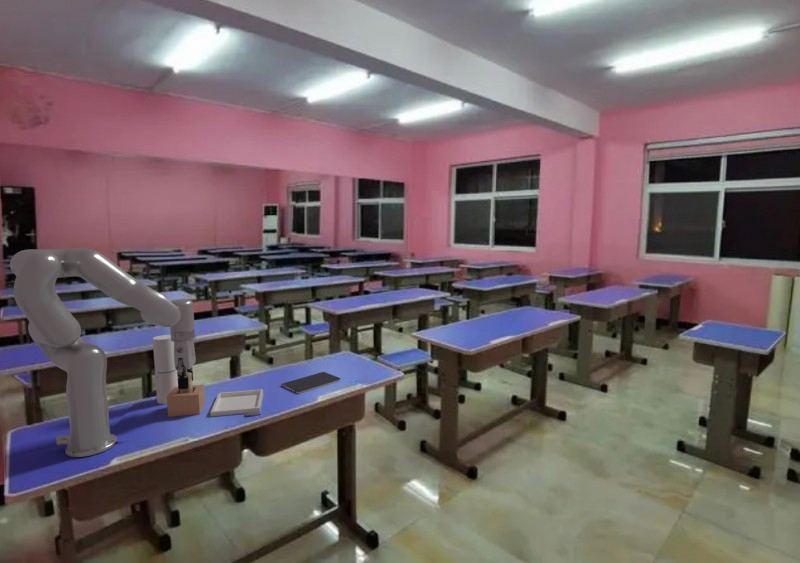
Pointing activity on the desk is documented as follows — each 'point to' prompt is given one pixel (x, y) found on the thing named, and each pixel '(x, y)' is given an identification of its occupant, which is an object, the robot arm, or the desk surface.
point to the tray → (238, 403)
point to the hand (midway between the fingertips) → (185, 384)
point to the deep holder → (186, 401)
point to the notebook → (311, 382)
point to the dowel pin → (190, 389)
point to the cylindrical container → (164, 367)
